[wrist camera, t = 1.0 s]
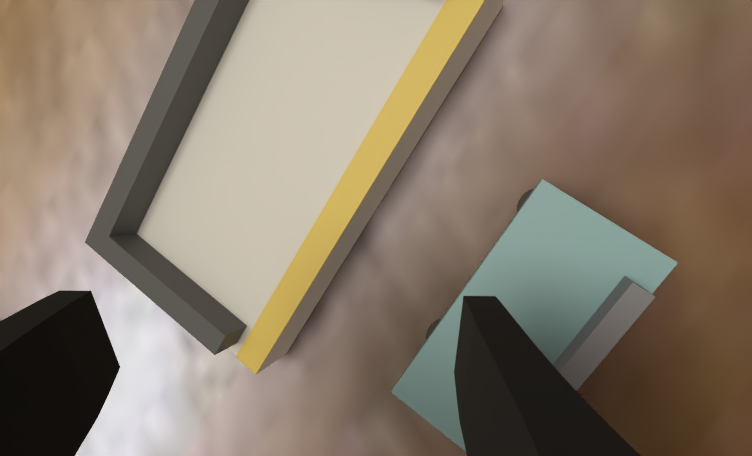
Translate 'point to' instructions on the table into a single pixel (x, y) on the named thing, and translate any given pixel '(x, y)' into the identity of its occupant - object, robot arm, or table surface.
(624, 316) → the teal rolling suitcase
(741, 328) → the table surface
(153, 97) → the dock
